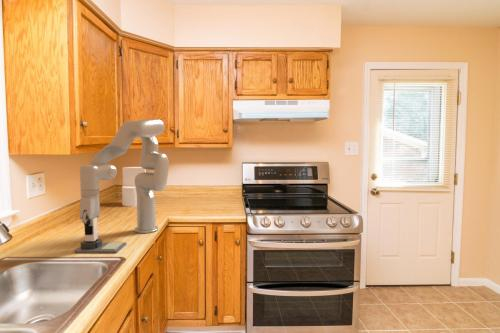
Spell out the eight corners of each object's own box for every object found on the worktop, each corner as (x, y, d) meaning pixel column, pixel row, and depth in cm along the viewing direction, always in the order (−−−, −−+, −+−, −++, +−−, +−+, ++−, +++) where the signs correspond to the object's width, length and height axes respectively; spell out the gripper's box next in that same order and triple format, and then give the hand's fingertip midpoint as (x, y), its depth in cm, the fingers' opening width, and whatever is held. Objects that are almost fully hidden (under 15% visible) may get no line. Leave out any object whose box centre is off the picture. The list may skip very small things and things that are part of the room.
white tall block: (127, 201, 262) (127, 166, 260) (149, 202, 261) (148, 167, 259) (118, 206, 245) (117, 168, 243) (141, 206, 244) (140, 168, 242)
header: (87, 244, 155) (87, 237, 154) (126, 244, 155) (126, 237, 155) (74, 253, 143) (74, 245, 142) (116, 253, 143) (116, 245, 143)
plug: (89, 238, 150) (88, 217, 150) (98, 238, 151) (97, 217, 150) (84, 241, 146) (84, 219, 146) (94, 241, 147) (93, 219, 146)
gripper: (90, 190, 155) (91, 228, 157) (71, 196, 138) (73, 238, 140) (106, 190, 155) (107, 228, 157) (89, 196, 139) (91, 238, 140)
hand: (91, 232), depth 148 cm, fingers closed on plug, 4 cm apart
